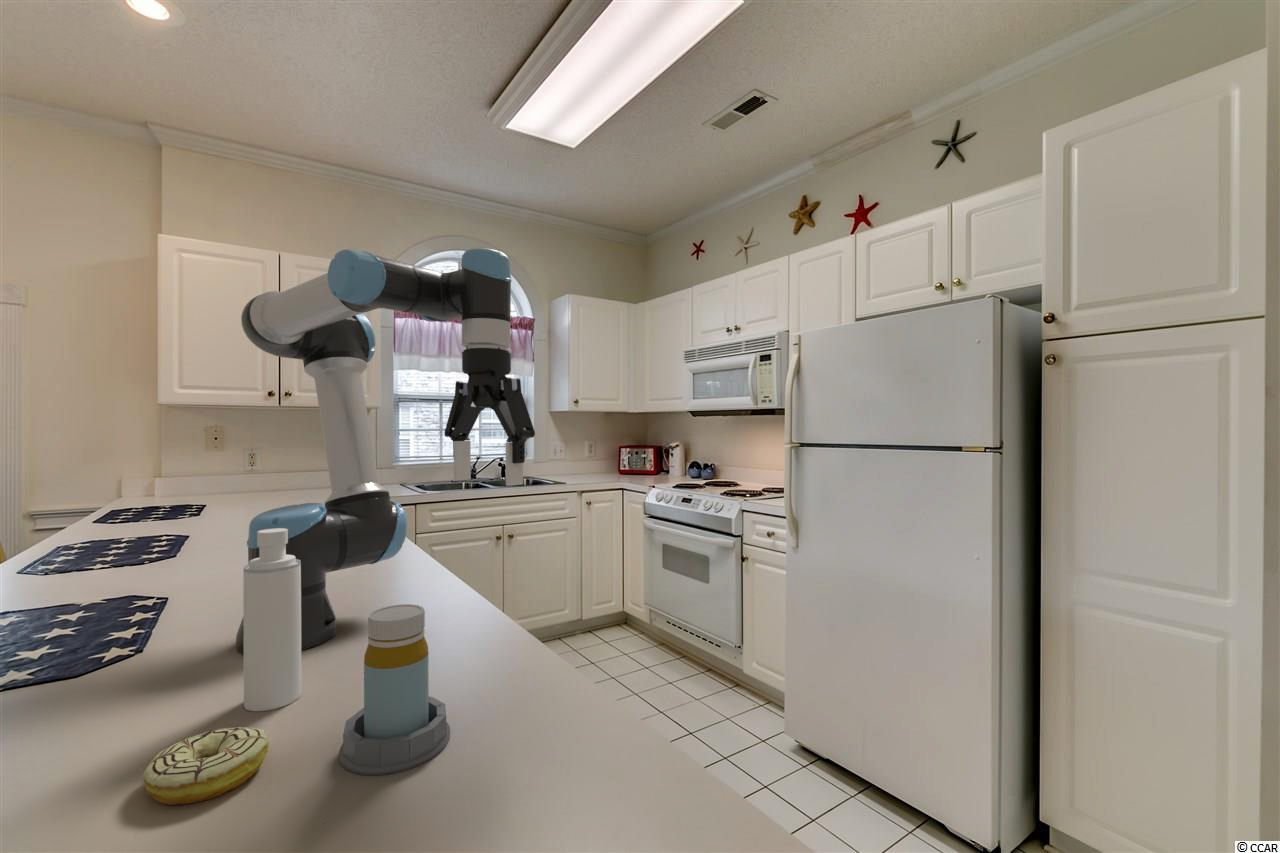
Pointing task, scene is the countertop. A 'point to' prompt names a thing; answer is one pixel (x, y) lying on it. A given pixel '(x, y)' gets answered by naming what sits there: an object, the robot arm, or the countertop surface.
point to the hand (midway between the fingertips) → (487, 482)
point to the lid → (393, 744)
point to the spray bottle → (272, 624)
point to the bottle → (395, 672)
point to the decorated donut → (205, 765)
